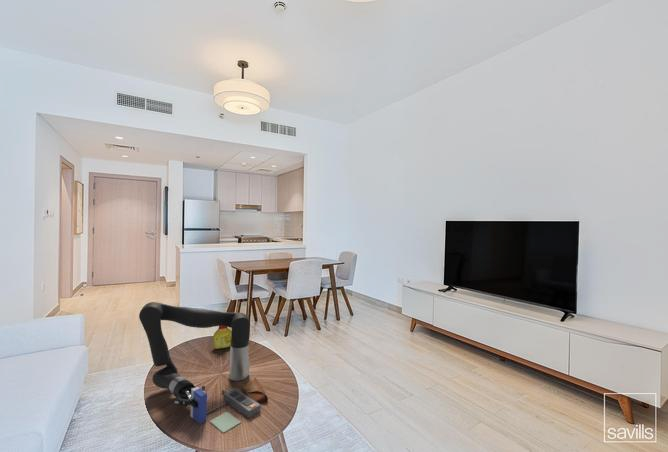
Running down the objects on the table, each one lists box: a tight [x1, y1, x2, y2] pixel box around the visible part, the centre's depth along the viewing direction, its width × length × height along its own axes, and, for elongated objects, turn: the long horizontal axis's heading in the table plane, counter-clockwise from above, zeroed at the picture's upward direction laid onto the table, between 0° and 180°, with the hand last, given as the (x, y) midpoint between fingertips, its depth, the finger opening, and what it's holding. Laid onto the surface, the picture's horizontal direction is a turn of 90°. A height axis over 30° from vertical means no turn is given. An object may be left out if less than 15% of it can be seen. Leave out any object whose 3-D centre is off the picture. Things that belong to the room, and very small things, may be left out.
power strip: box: [207, 388, 261, 419], centre depth 132 cm, size 25×18×3 cm
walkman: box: [190, 386, 208, 425], centre depth 125 cm, size 8×3×12 cm, turn 53°
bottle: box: [212, 326, 232, 350], centre depth 193 cm, size 12×6×20 cm, turn 120°
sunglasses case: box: [241, 377, 269, 405], centre depth 144 cm, size 18×7×7 cm
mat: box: [209, 411, 242, 434], centre depth 123 cm, size 8×10×1 cm
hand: (201, 403), depth 124 cm, fingers closed on walkman, 2 cm apart
